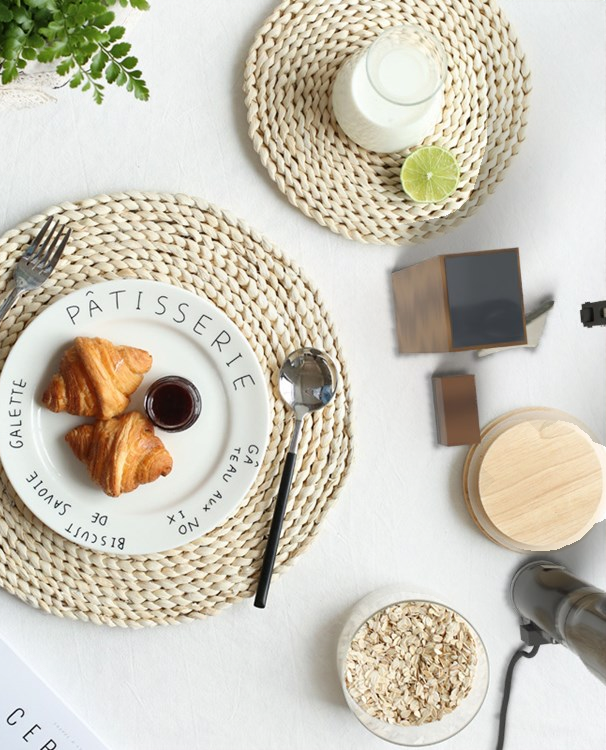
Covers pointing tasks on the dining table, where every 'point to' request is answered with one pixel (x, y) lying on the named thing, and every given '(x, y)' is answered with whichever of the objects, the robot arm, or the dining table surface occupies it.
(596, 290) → the dining table surface
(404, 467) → the dining table surface
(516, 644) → the dining table surface
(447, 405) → the brown wooden block
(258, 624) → the dining table surface
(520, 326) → the pad
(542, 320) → the ceramic fragment
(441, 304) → the stand
